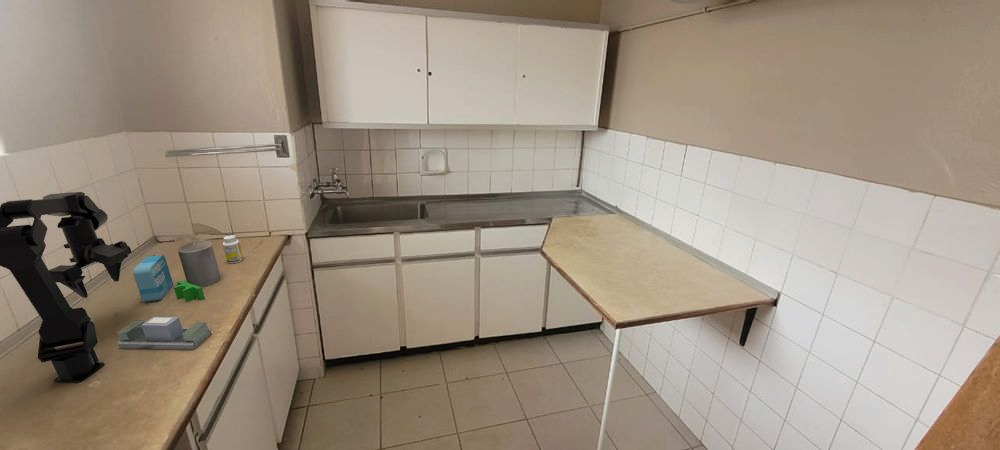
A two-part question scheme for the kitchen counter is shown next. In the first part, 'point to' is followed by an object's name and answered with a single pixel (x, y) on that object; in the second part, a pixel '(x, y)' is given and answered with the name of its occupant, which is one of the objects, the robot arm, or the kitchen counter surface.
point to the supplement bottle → (232, 249)
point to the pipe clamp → (188, 291)
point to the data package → (153, 278)
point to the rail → (188, 340)
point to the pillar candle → (199, 263)
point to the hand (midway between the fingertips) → (101, 289)
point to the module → (162, 329)
